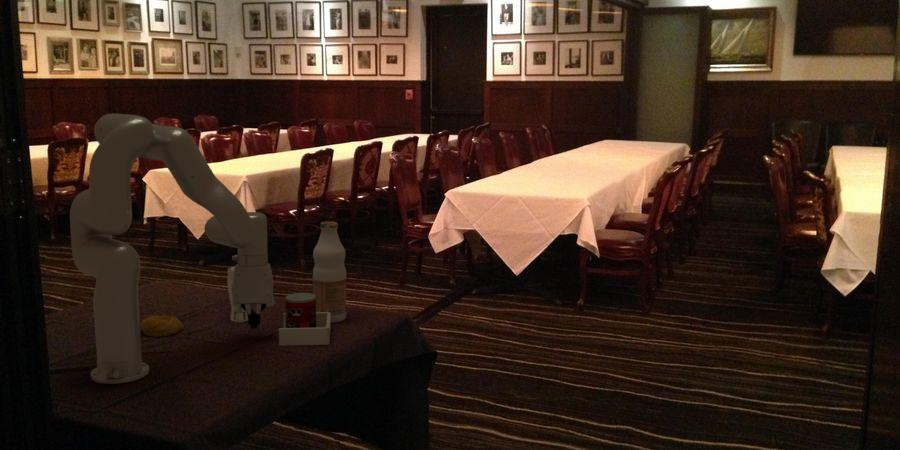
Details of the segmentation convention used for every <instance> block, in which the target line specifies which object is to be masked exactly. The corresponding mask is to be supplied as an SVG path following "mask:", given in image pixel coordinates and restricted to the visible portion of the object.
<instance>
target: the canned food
mask: <svg viewBox="0 0 900 450" xmlns="http://www.w3.org/2000/svg"><path fill="white" fill-rule="evenodd" d="M284 299H285V300H284V302H285V303H284V304H285V309H284V310H285V313H286V328H316V297H315V295H313V293H310V292H309V293H308V292H296V293H289V294H287V295H286V296H285V298H284Z"/></svg>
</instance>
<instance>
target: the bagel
mask: <svg viewBox="0 0 900 450" xmlns="http://www.w3.org/2000/svg"><path fill="white" fill-rule="evenodd" d="M140 330H141V331H142V332H143V333H144V334H145V336H147V337H151V338H152V337H153V338H161V337H168V336H172V335H175V334H177V333H179V332H182V331H183V330H184V324H183V322H182V321H181V320H179V319H178V318H177V317H176V316H173V315H151V316H148V317H146V318H144V319H143V320H141V321H140Z"/></svg>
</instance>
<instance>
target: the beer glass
mask: <svg viewBox="0 0 900 450" xmlns="http://www.w3.org/2000/svg"><path fill="white" fill-rule="evenodd" d="M234 269H235V265H233V266H229V267H227V283H226V284H227V291H228V297H229V301H230V306H231V308H230V309H231V312H230V321H231V322H232V323H246V322H247V323H248V314H247V313H246V311H245V310H243V309H242V308H241V307H236V306H233V277H234Z"/></svg>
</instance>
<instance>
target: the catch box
mask: <svg viewBox="0 0 900 450" xmlns="http://www.w3.org/2000/svg"><path fill="white" fill-rule="evenodd" d="M282 316H283V317H282V318H283V321H282V323H283V328H282V327H280V328H278V332H279V333H278V340H279V341H278V345H279V346H280V347H281V346H321V345H323V346H324V345H328V346H329V345H330V341H331V329H332V328H331V327H332V325H331V324H332V323H331V312H316V328H286V312H283V314H282Z"/></svg>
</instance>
